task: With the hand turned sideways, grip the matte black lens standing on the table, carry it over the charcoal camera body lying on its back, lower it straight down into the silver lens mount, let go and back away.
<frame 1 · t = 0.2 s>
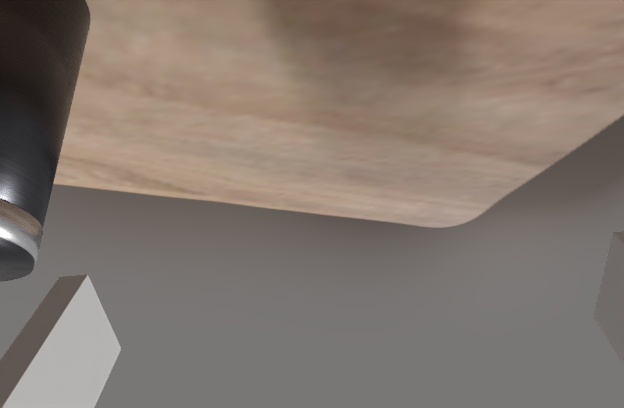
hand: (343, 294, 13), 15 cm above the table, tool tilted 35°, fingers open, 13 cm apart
lens: (17, 1, 22), on the table
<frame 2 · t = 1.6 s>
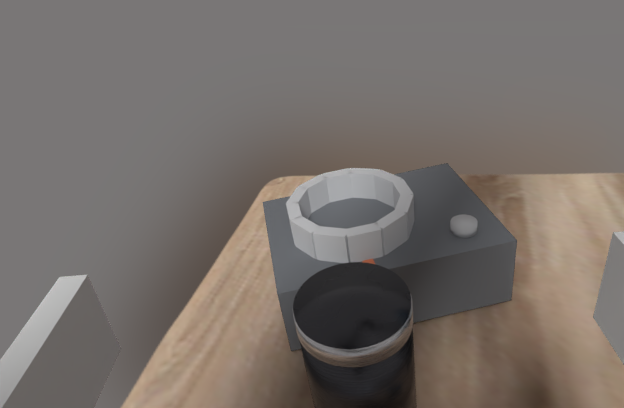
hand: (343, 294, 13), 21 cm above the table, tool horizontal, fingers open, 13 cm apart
camera body: (379, 273, 45), on the table
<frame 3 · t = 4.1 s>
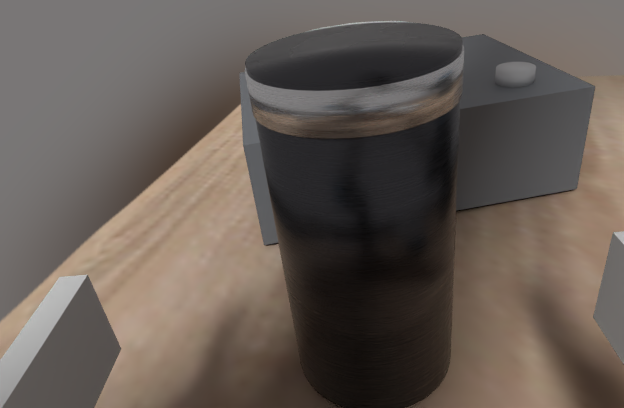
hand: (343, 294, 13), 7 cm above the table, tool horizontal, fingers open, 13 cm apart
camera body: (391, 166, 33), on the table
lens: (373, 347, 20), on the table
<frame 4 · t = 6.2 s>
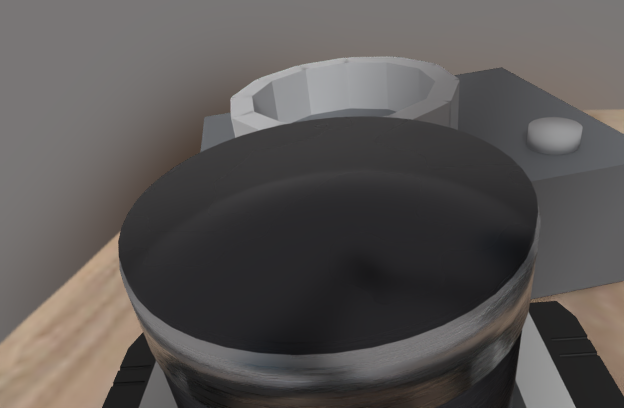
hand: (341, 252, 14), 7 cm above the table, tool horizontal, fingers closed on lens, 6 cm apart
camera body: (391, 235, 27), on the table
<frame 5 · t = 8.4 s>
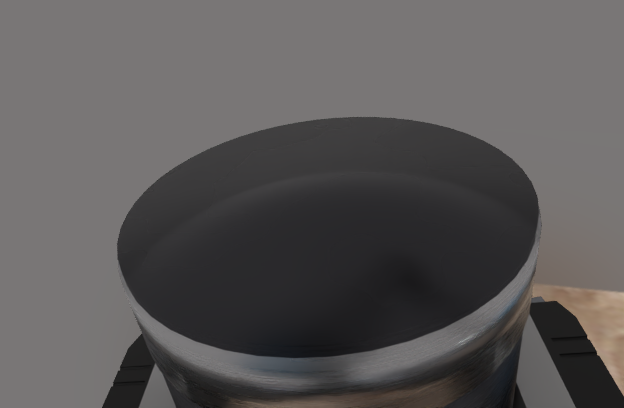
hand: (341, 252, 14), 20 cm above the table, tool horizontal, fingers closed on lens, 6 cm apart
when the fingers open (14 cm above the table, at t = 10.8 s): lens stays where it is, resting on camera body.
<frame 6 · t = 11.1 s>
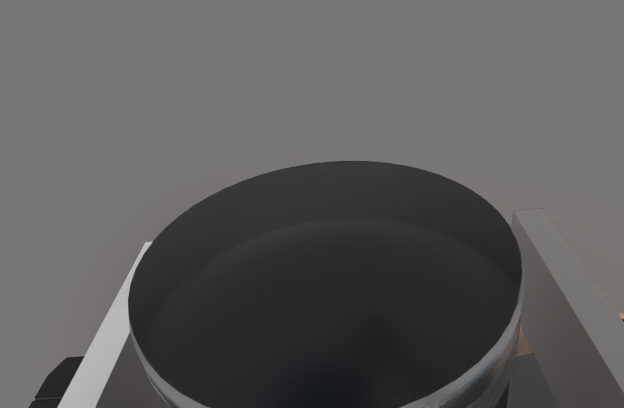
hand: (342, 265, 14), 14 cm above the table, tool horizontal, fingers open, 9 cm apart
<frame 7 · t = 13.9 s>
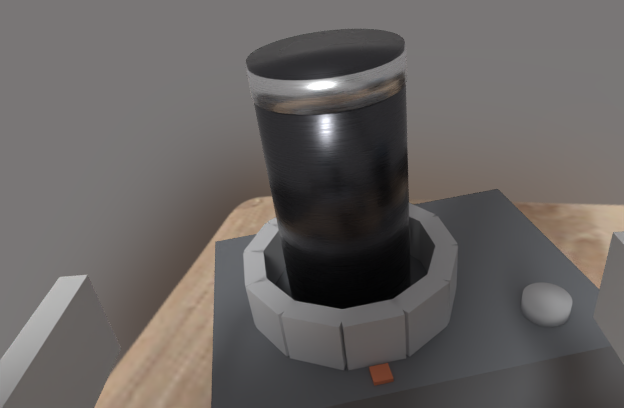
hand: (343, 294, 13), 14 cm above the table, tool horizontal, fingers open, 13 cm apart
camera body: (393, 361, 28), on the table
lens: (350, 288, 25), point 6 cm above the table, touching camera body
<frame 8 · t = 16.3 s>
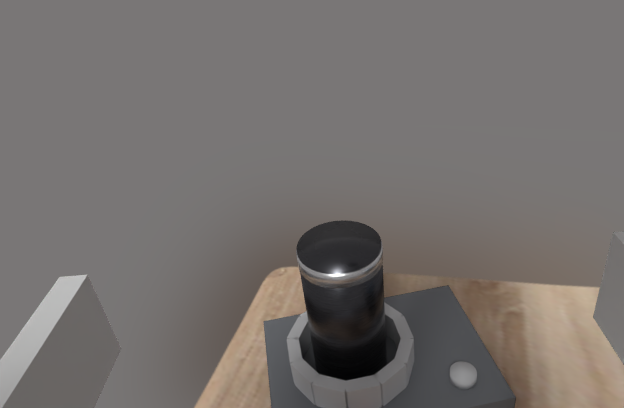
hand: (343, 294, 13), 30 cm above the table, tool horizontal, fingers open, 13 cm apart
camera body: (378, 401, 45), on the table
lens: (350, 359, 41), point 6 cm above the table, touching camera body
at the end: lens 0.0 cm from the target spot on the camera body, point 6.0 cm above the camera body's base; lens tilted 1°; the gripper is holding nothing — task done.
